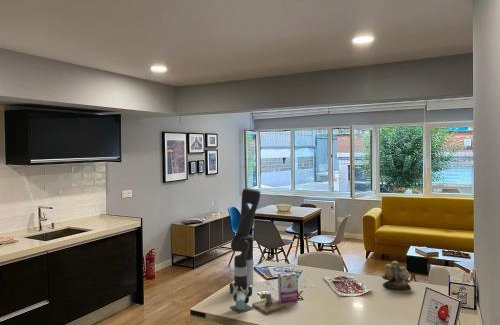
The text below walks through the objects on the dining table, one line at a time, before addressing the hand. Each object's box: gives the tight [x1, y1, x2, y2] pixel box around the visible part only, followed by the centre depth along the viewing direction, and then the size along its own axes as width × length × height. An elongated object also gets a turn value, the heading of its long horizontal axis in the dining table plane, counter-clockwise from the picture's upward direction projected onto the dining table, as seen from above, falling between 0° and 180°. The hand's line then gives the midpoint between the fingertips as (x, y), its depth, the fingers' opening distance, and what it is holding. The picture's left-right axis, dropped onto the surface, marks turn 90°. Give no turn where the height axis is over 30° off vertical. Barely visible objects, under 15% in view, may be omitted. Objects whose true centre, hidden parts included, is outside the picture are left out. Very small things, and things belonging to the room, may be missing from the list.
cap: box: [235, 296, 246, 310], centre depth 216 cm, size 6×6×6 cm
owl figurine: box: [381, 260, 412, 291], centre depth 244 cm, size 18×12×17 cm, turn 79°
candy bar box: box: [277, 271, 299, 304], centre depth 226 cm, size 11×5×16 cm, turn 105°
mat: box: [229, 303, 254, 314], centre depth 216 cm, size 10×10×1 cm
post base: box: [251, 293, 287, 315], centre depth 217 cm, size 14×14×8 cm
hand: (241, 302), depth 216 cm, fingers open, 6 cm apart
